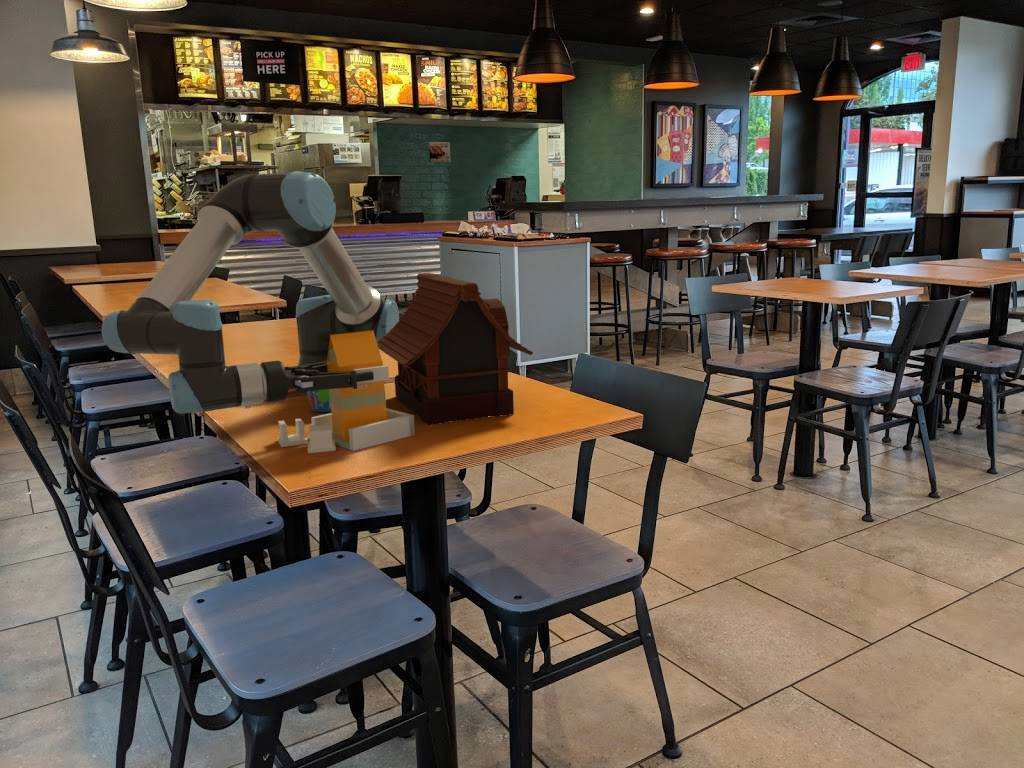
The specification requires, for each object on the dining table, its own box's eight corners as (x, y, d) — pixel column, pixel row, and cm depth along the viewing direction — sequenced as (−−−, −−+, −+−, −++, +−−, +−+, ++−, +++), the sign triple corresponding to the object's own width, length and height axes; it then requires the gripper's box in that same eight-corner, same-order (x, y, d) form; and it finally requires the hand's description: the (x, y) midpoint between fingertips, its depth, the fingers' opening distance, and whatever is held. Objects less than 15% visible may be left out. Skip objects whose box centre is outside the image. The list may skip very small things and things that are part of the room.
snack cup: (311, 402, 183) (307, 359, 181) (356, 400, 184) (353, 358, 182) (297, 419, 168) (293, 372, 166) (346, 417, 169) (342, 371, 166)
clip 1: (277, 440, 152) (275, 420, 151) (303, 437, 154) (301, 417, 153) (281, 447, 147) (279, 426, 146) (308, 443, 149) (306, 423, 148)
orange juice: (388, 433, 152) (380, 332, 147) (344, 441, 147) (335, 337, 143) (375, 425, 158) (367, 328, 154) (332, 432, 154) (323, 332, 150)
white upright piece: (308, 453, 143) (306, 432, 142) (307, 445, 148) (306, 425, 147) (335, 450, 144) (334, 429, 143) (334, 443, 149) (333, 423, 148)
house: (537, 414, 167) (535, 279, 161) (408, 430, 157) (401, 286, 151) (483, 384, 199) (479, 270, 193) (373, 395, 189) (365, 275, 183)
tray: (372, 422, 163) (371, 404, 162) (414, 434, 153) (413, 415, 152) (312, 436, 154) (311, 417, 153) (353, 451, 144) (352, 430, 143)
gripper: (251, 392, 152) (361, 378, 163) (278, 415, 133) (400, 397, 144) (247, 354, 150) (359, 342, 161) (274, 372, 131) (398, 357, 142)
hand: (378, 368), depth 152 cm, fingers open, 9 cm apart
